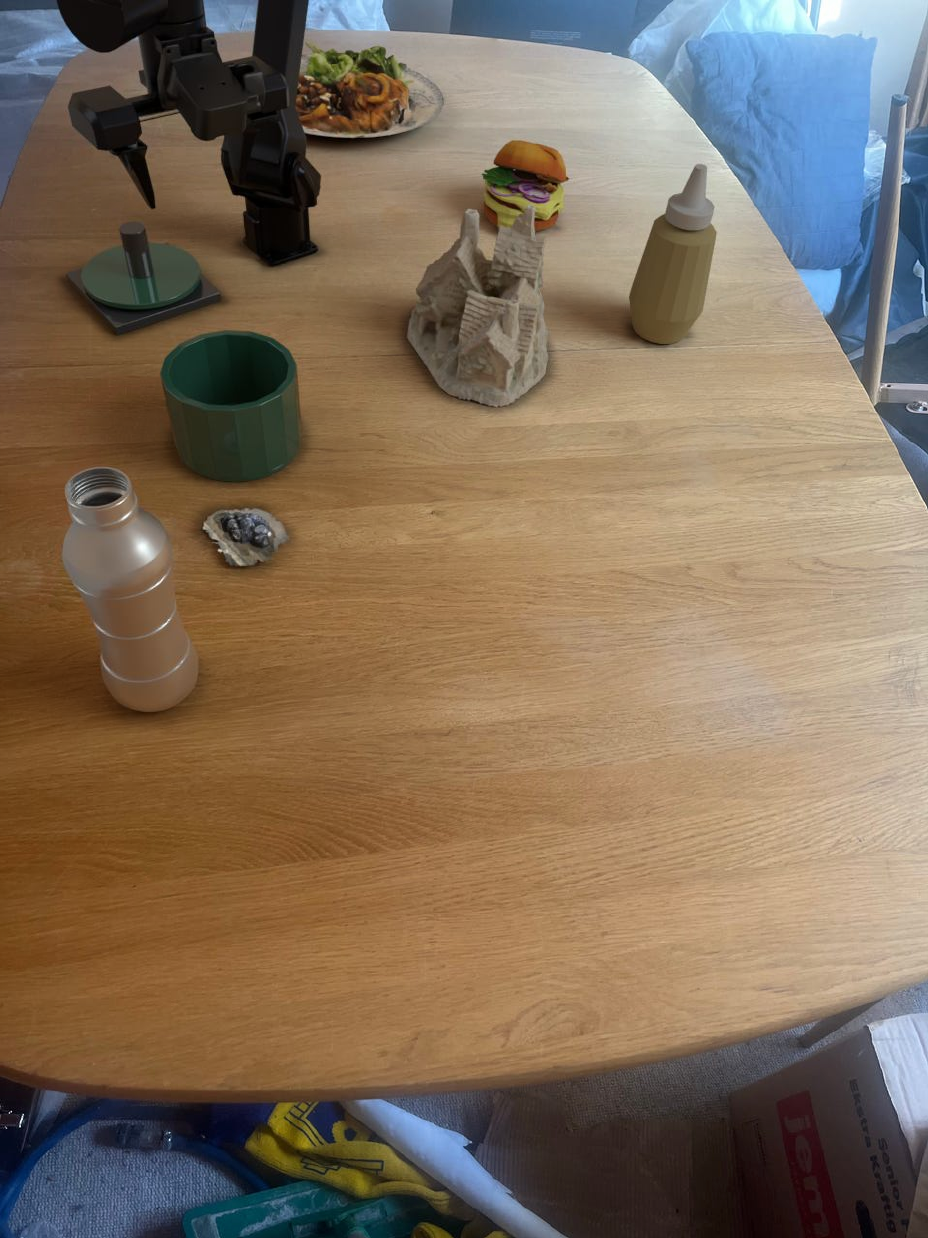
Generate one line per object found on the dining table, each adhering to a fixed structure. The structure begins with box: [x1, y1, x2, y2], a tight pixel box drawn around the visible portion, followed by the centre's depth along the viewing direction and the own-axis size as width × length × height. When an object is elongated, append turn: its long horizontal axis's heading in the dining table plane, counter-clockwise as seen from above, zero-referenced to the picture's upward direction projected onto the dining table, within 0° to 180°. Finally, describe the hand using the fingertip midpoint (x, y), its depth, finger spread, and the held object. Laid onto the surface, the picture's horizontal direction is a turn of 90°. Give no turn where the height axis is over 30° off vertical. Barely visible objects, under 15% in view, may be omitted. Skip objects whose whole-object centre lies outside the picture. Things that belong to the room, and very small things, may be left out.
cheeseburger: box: [481, 139, 570, 232], centre depth 117 cm, size 10×11×10 cm
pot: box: [159, 329, 303, 483], centre depth 86 cm, size 11×11×8 cm
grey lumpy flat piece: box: [202, 507, 291, 567], centre depth 81 cm, size 7×8×2 cm
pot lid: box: [81, 220, 202, 309], centre depth 100 cm, size 12×12×6 cm
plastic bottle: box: [61, 466, 199, 713], centre depth 63 cm, size 6×7×20 cm
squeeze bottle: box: [628, 163, 718, 345], centre depth 99 cm, size 8×8×18 cm
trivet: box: [64, 242, 222, 336], centre depth 103 cm, size 12×12×1 cm
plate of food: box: [296, 41, 445, 139], centre depth 133 cm, size 28×28×6 cm
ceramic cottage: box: [406, 204, 549, 408], centre depth 95 cm, size 16×16×15 cm
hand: (196, 195), depth 92 cm, fingers open, 9 cm apart
